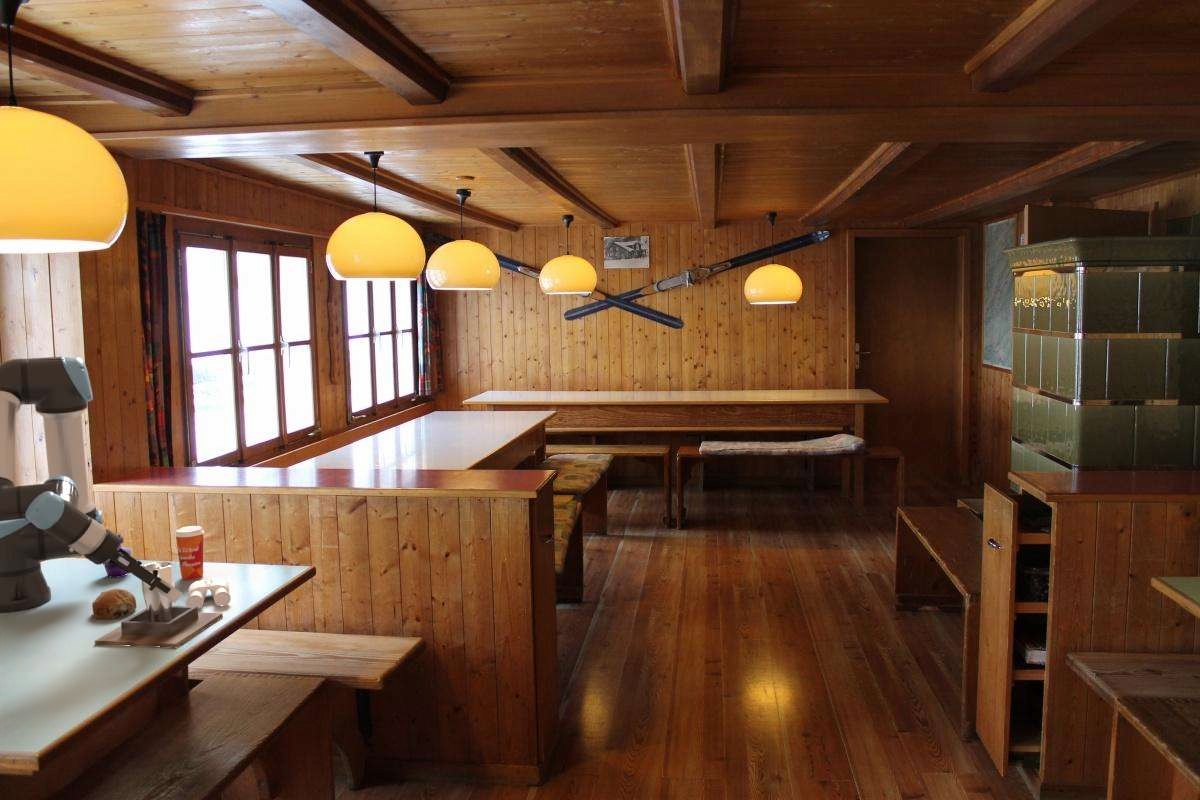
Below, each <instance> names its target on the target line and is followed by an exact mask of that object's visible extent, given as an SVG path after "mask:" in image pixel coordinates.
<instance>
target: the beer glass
mask: <svg viewBox="0 0 1200 800" xmlns="http://www.w3.org/2000/svg"><path fill="white" fill-rule="evenodd" d="M142 567H143V568H145V569H146V570H148V571H149V572H151V573H152V574H154V575H155V576H157V577H160V578H161V579H162V580H164V581H165V582H167V583H168V584H170V585H171V586H173V587H174V588H175V576H174V569H173V563H172V562H170V561H154V562H150V563H146V564H143V565H142ZM153 581H154V580H153ZM153 581H152V582H153ZM152 582H151V583H152ZM150 587H151V586H150V585H148V584H147V583H145V582H144V581H142V580H141V589H142V595H143V600H144V602H145V606H146V608H147V611H148V622H169V621H171V620H172V619H174V617H173V612H172V606H173V604H174V602H173V601H171V600H170V599H168V598H167V597H165V596H164V595H162V594H161V593H159V592H158V591H156V590H154V589H153V590H152V591H151V590H149V588H150Z"/></svg>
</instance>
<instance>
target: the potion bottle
mask: <svg viewBox="0 0 1200 800" xmlns="http://www.w3.org/2000/svg"><path fill="white" fill-rule="evenodd" d="M113 533H114V534H115V535H117V536H118V537H120V540H121V541H120V545H119V547H118V549H117V550H119V549H120V548H121V549H123V550H124V551H126V552H127V553H129V554H130V556H131V557H133V555H132V552H133V548H132V547H131V548H130V547H124V546H122V544H124V541H125V539H124V537H123V536H121V533H119V532H113ZM109 561H110V559H108V560H106V562H104V563H102V566H104V569H105V572H106V576H111V577H115V578H118V577H117V576H122V575H125V574H127V573H126V572H124V571H123V570H121V569H120V568H116V567H115V566H113V565H112V564H110V563H109ZM125 576H126V575H125ZM122 577H123V576H122Z"/></svg>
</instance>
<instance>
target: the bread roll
mask: <svg viewBox="0 0 1200 800" xmlns="http://www.w3.org/2000/svg"><path fill="white" fill-rule="evenodd" d="M91 606H92V612H93V613H92V615H94V616H93V617H94V618H95V619H96V618H97V619H96V620H102V619H108V620H115V619H119V617H121V618H124V617H127V616H128V614H129V615H131V614H132V613H134V612H135V610H136V608H137V600H136V597H135V595H134V594H133V593H132V592H130V591H129V590H126V589H122V588H112V589H108V590H103V591H101V593H100V594H99V595H98V596H97V597H96V598H95V599H94V600H93V602H92V605H91ZM130 613H131V614H130ZM126 615H127V616H126ZM123 616H124V617H123ZM114 618H115V619H114Z"/></svg>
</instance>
